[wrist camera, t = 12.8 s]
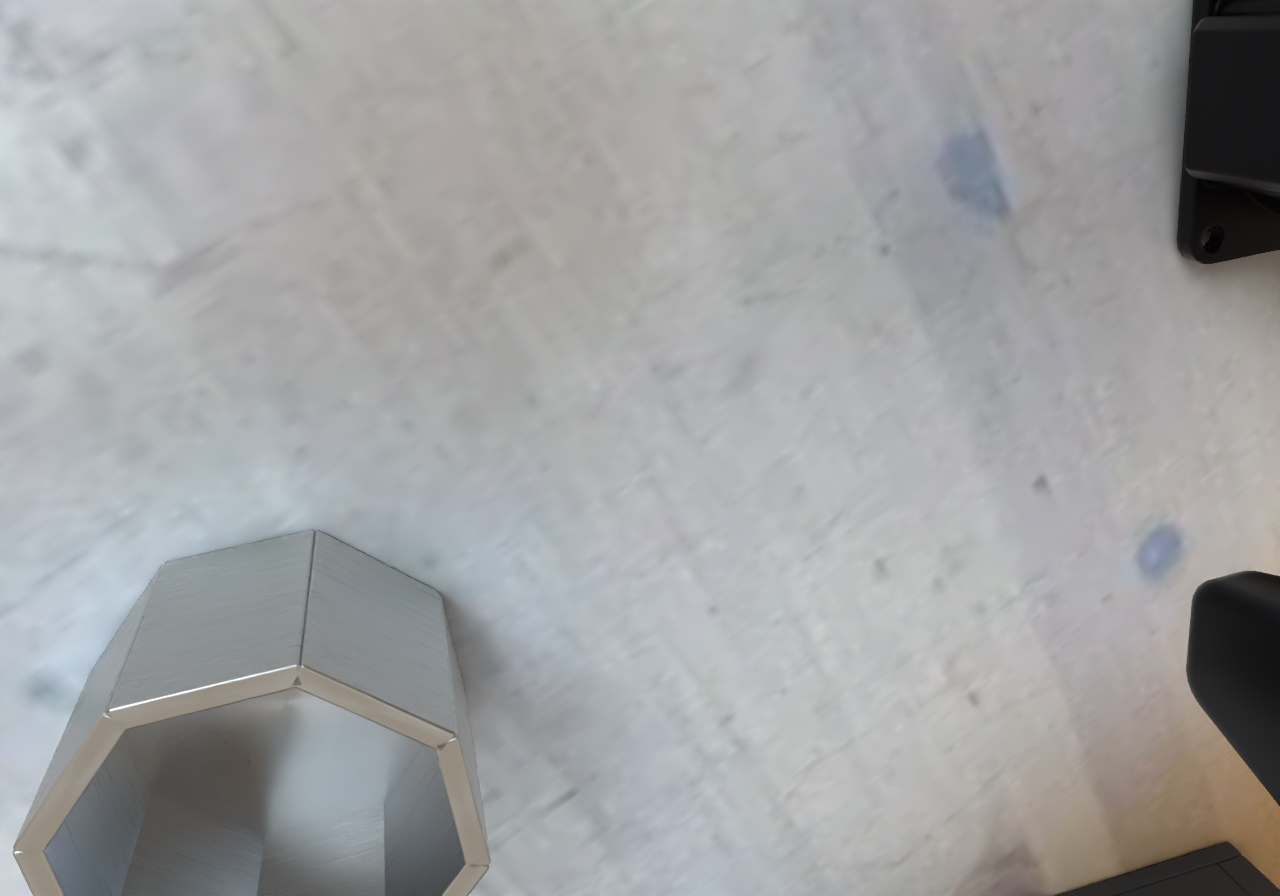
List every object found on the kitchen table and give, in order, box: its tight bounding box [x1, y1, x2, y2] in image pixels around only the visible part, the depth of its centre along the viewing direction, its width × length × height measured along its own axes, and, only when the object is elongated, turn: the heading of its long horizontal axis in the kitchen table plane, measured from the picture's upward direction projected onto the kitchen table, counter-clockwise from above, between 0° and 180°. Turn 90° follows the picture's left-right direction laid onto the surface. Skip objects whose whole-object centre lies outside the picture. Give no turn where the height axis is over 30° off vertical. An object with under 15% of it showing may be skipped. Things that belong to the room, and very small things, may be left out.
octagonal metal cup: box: [13, 530, 491, 896], centre depth 18 cm, size 6×6×4 cm
